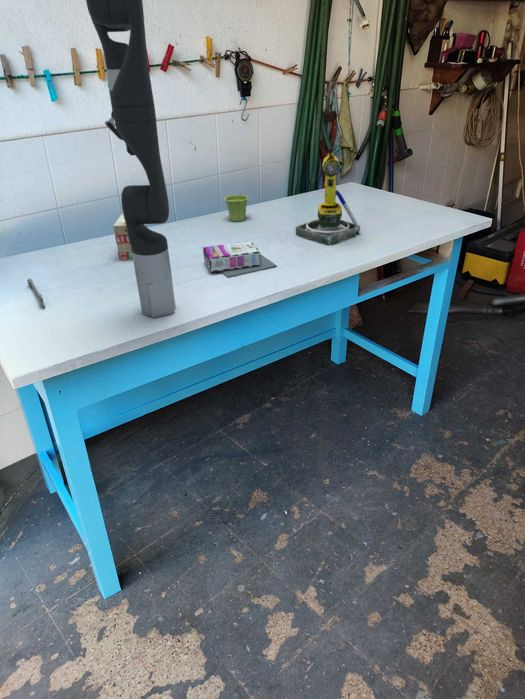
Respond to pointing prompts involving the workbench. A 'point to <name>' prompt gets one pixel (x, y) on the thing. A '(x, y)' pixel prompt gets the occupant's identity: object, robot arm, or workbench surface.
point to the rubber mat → (250, 268)
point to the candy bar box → (231, 256)
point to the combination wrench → (36, 292)
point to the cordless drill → (330, 210)
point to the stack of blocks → (123, 239)
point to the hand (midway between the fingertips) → (133, 154)
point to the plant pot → (237, 207)
